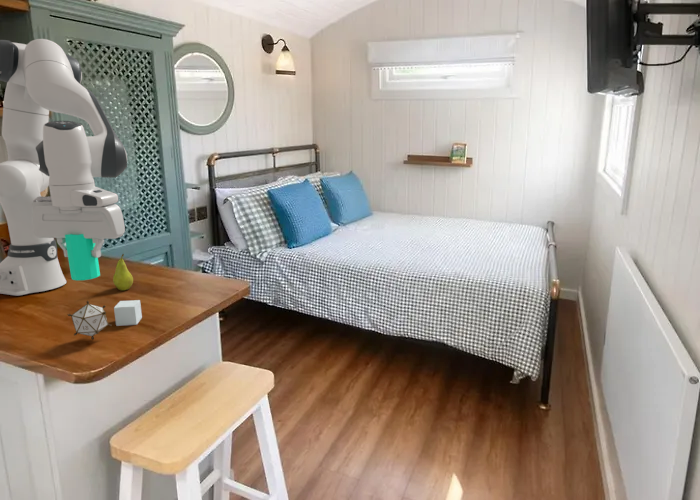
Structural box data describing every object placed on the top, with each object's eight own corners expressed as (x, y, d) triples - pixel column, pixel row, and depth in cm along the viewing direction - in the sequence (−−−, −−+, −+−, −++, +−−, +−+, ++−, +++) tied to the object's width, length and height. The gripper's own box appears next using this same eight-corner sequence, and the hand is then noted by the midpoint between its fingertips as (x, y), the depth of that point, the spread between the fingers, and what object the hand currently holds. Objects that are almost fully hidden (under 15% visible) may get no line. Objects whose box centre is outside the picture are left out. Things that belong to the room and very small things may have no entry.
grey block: (116, 326, 125) (113, 307, 124) (122, 318, 130) (120, 301, 129) (136, 324, 126) (134, 306, 125) (142, 317, 131) (140, 300, 130)
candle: (88, 281, 110) (80, 228, 107) (64, 279, 111) (56, 227, 108) (106, 273, 116) (99, 223, 113) (83, 272, 117) (76, 222, 114)
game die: (63, 346, 114) (56, 305, 111) (87, 331, 122) (82, 293, 119) (98, 348, 112) (92, 307, 110) (120, 333, 120) (115, 294, 118)
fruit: (120, 287, 156) (115, 250, 153) (137, 287, 156) (133, 250, 153) (110, 293, 151) (105, 255, 148) (128, 293, 150) (124, 255, 147)
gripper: (20, 198, 107) (31, 259, 110) (108, 198, 105) (116, 261, 108) (41, 194, 113) (50, 252, 116) (124, 194, 111) (132, 254, 114)
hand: (83, 256), depth 112 cm, fingers closed on candle, 5 cm apart
